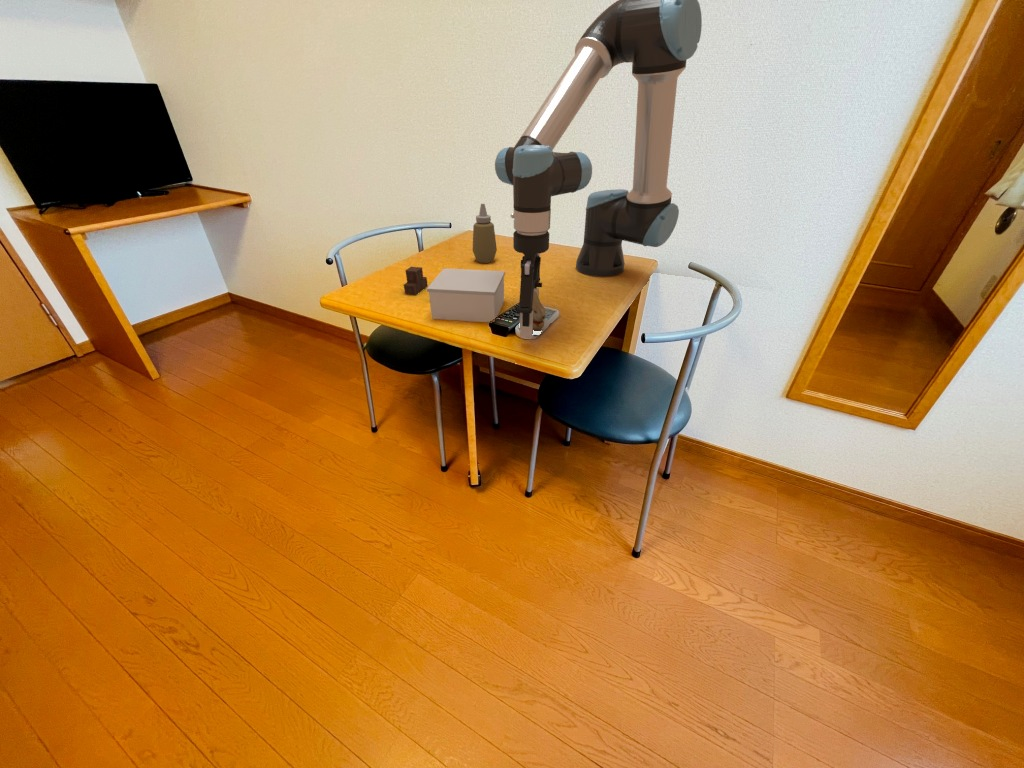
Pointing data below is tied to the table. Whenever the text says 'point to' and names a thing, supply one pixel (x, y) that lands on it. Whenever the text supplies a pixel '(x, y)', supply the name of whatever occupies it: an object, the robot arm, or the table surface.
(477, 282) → the storage box
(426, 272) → the table surface
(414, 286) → the stack of crates
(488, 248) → the squeeze bottle
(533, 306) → the chocolate bunny
